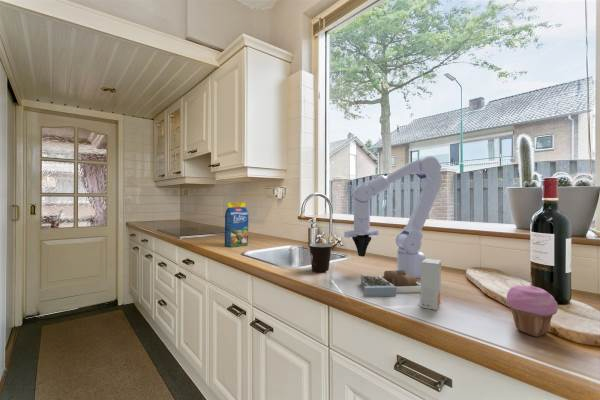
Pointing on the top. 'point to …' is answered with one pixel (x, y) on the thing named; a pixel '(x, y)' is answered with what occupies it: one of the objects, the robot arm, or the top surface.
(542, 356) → the top surface
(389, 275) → the racked roller
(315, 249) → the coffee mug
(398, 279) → the loose roller
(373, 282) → the gravel pile
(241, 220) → the blue food package
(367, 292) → the block
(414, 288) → the white shallow tray
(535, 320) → the cupcake
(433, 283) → the skincare box
